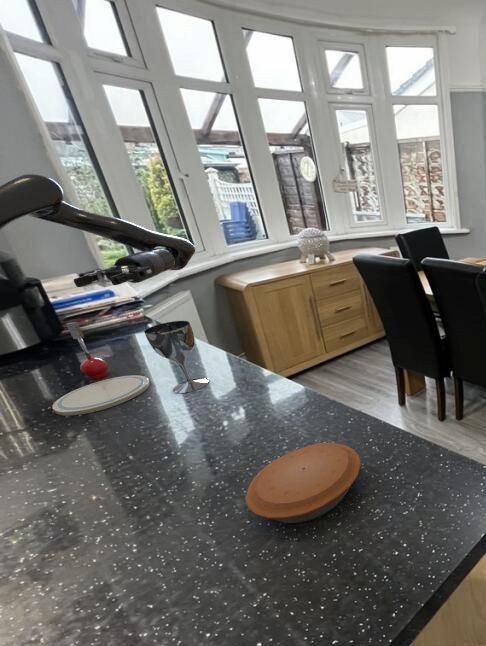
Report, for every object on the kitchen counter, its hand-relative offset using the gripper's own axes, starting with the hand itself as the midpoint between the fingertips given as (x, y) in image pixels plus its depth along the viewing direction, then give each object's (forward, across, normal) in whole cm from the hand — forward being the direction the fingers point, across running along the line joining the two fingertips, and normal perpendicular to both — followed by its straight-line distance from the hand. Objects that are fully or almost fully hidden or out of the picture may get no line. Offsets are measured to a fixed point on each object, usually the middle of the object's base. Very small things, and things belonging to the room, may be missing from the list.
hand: (94, 282), depth 100 cm
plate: (+22, +10, +21) cm, 32 cm away
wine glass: (+20, +27, +21) cm, 40 cm away
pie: (+61, +68, +20) cm, 94 cm away
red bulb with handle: (+11, 0, +21) cm, 24 cm away
